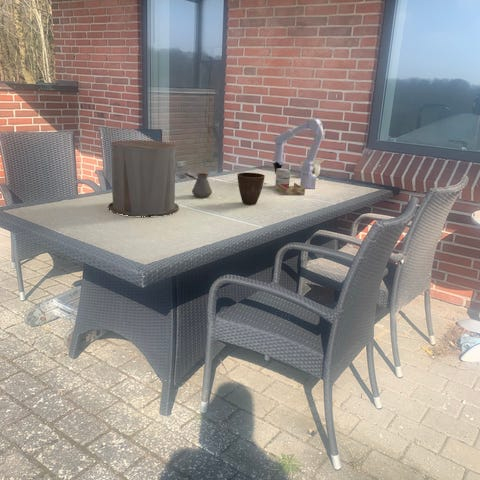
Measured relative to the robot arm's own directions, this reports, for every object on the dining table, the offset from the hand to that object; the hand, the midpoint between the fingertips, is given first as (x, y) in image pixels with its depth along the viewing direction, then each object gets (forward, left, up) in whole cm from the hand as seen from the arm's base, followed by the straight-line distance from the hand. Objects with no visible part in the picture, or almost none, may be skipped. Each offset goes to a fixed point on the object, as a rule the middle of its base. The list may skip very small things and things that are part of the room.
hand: (277, 173), depth 336 cm
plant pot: (+35, +57, -7) cm, 67 cm away
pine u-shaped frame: (0, +27, -7) cm, 27 cm away
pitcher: (-34, -22, -7) cm, 41 cm away
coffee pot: (+62, +42, -7) cm, 75 cm away
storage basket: (+93, +66, -7) cm, 114 cm away
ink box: (0, +12, -7) cm, 13 cm away
